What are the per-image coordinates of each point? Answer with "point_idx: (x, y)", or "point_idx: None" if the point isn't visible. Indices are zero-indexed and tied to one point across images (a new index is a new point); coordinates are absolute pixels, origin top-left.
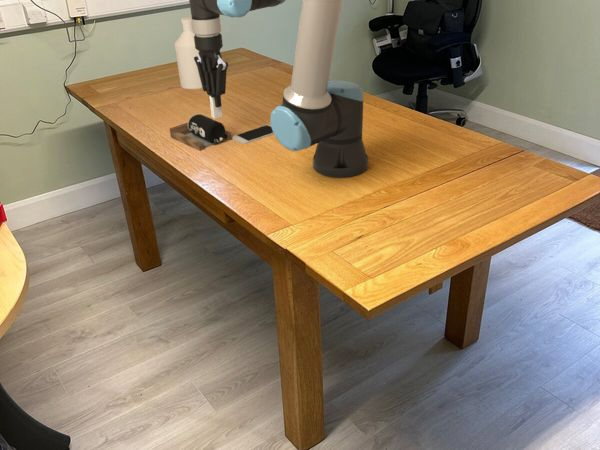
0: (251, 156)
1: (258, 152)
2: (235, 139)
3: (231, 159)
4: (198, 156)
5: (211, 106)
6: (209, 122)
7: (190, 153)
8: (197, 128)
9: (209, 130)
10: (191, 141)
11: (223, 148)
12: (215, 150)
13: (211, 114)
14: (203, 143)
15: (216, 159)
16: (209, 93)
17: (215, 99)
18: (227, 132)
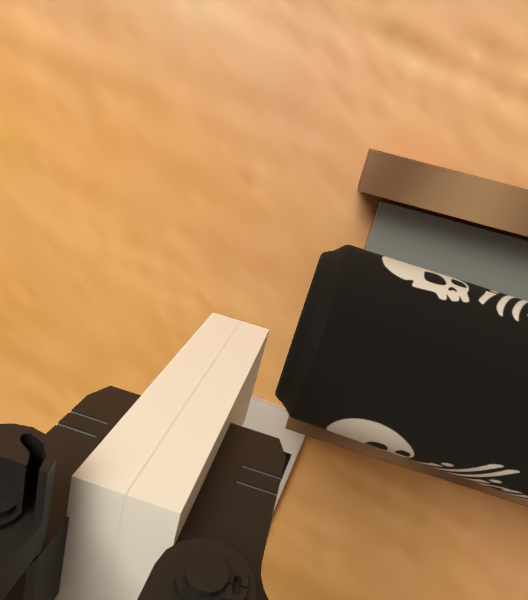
0: (18, 234)
1: (25, 300)
2: (256, 399)
3: (83, 136)
4: (315, 57)
5: (208, 385)
6: (368, 355)
7: (410, 71)
8: (498, 303)
9: (326, 275)
10: (481, 178)
11: (244, 260)
12: (271, 208)
13: (259, 342)
14: (414, 254)
15: (165, 84)
16: (159, 563)
17: (69, 465)
18: (314, 426)
